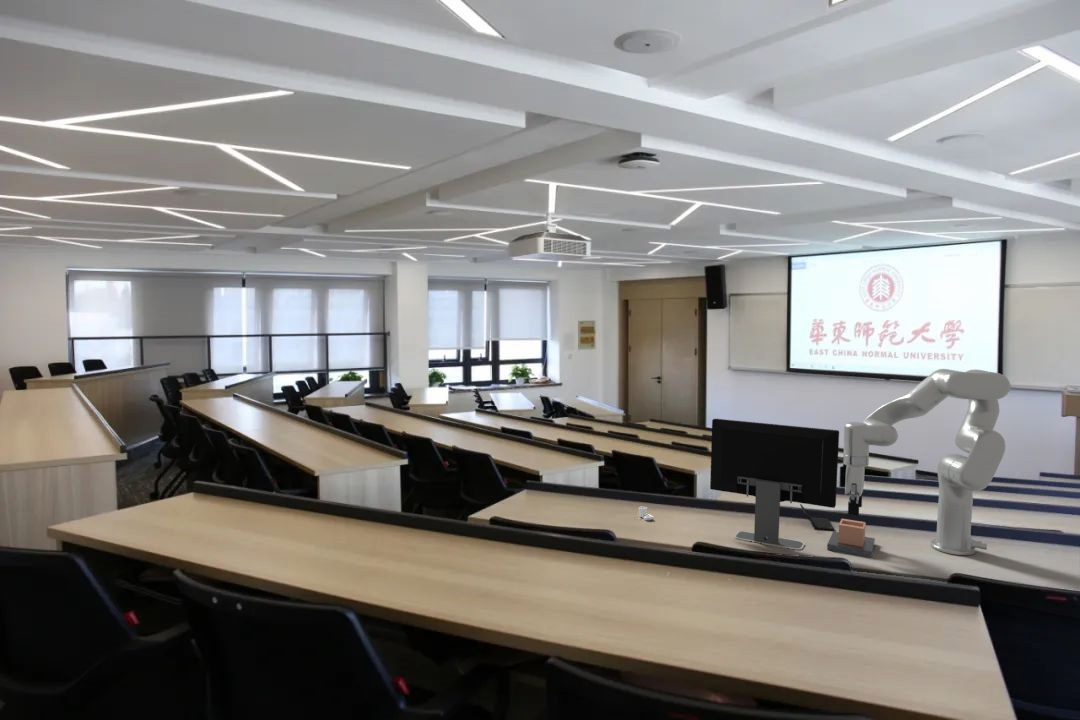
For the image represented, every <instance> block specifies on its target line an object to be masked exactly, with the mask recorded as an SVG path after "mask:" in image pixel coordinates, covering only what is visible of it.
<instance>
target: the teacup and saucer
mask: <svg viewBox="0 0 1080 720" xmlns="http://www.w3.org/2000/svg"><path fill="white" fill-rule="evenodd" d="M638 513H639V515H638V516H639V518H641V517H642V518H641V519H642V520H643V521H651V520H653V519H654V516H653V515H652V514H650V513H648V507H647V506H643V505H642V506H641V505H640V506H638ZM646 514H648V515H649V516H648V515H646Z"/></svg>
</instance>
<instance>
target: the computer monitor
mask: <svg viewBox="0 0 1080 720" xmlns="http://www.w3.org/2000/svg"><path fill="white" fill-rule="evenodd" d="M839 447H840V430H838V429H836V430H835V429H829V428H826V429H825V428H817V427H808V426H796V425H795V426H794V425H785V424H777V423H764V422H755V421H743V420H732V419H724V418H713V419H712V420H711V450H710V480H709V489H710V490H712V491H719V492H726V493H731V494H732V493H734V494H740V495H746V497H747V498H748V497H749V496H751V497H752V496H753V497H755V503H754V504H755V505H754V529H753V531H754V532H751V531H745V530H738V531H737V532H736V533H735V534H734V536H733V537H734V539H736V540H738V539H740V540H739V541H744V540H746V541H745V542H749V541H752V542H751V543H754V542H758V543H757V544H760V543H762V544H761V545H765V544H766V546H771V545H772V547H776V546H777V547H778V548H781V547H782V548H783V549H787V548H789V550H792V549H795V550H794V551H802V550H803V549H804V548H805V542H803V541H800V540H797V539H796V540H795V539H791V538H789V539H788V538H784V537H780V536H779V535H780V513H781V512H780V508H781V503H782V502H789V503H790V504H793V503H798V504H804V505H805V504H806V505H812V506H819V507H825V508H826V507H827V508H833V509H834V508H835V507H836V506H837V488H838V485H837V484H838V467H839ZM792 502H793V503H792Z"/></svg>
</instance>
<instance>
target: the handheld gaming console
mask: <svg viewBox="0 0 1080 720" xmlns="http://www.w3.org/2000/svg"><path fill="white" fill-rule="evenodd" d="M799 505H800V508H801V509H802V512H803V513H804V515H805V516H806V518H807V519H808V520H809V521H810V523H811V525H812V527H813V529H814V530H815V531H825V532H833V531H834V532H835V528H834V526H833V524H832V523H831V521H830V519H829V518H826V517H813V516H810V514H809V513H808V512H807V510H806V509H805V507H804V506H803V504H802V503H799Z"/></svg>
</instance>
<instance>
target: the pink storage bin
mask: <svg viewBox="0 0 1080 720" xmlns="http://www.w3.org/2000/svg"><path fill="white" fill-rule="evenodd" d="M866 524H867V523H866V522H865V521H859V520H852V519H847V518H841V519H840V521H839V524H838V532H839V536H838V542H839V543H845V544H850V545H856V546H862V547H863V545H864V541H865V537H866V529H867V527H866Z"/></svg>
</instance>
